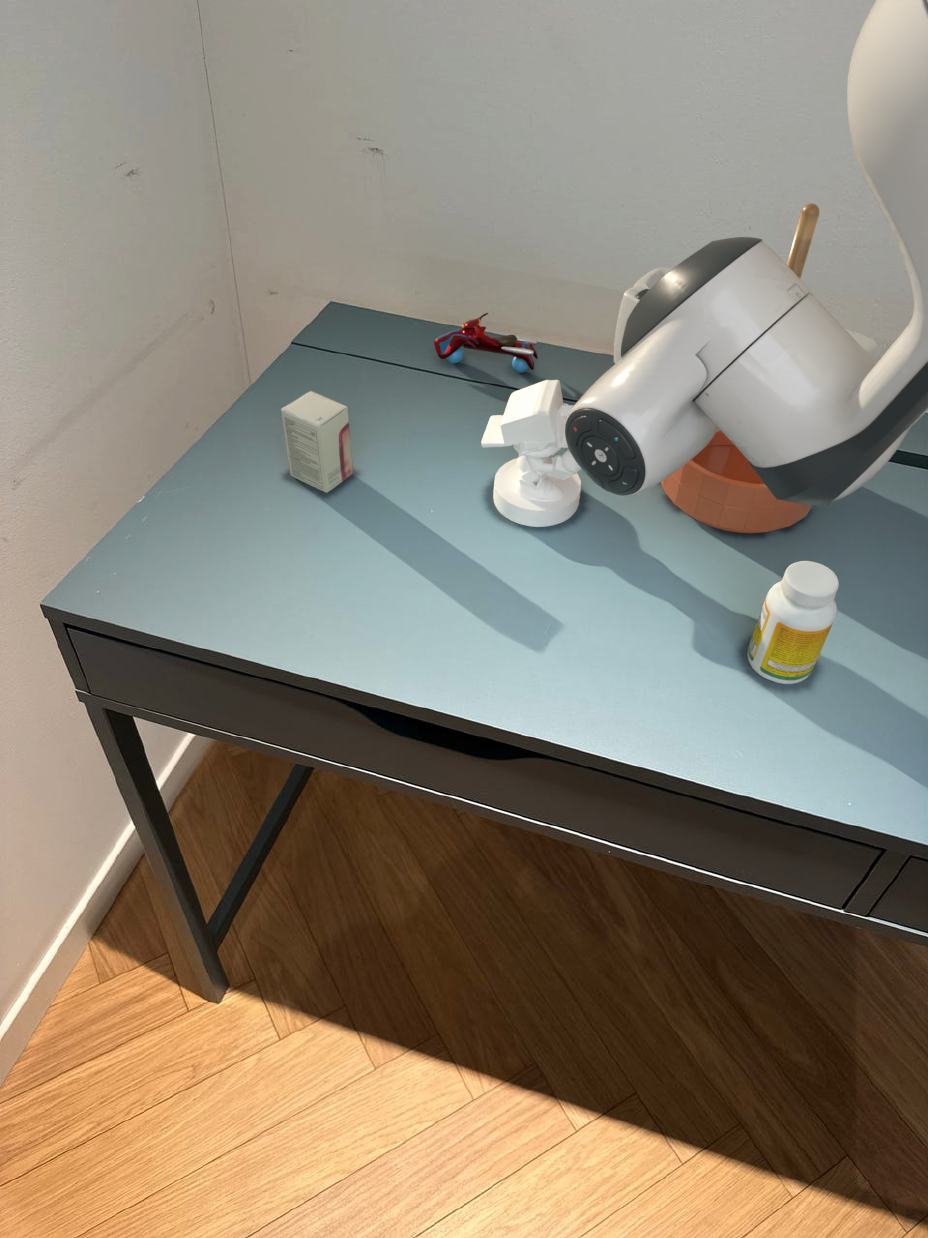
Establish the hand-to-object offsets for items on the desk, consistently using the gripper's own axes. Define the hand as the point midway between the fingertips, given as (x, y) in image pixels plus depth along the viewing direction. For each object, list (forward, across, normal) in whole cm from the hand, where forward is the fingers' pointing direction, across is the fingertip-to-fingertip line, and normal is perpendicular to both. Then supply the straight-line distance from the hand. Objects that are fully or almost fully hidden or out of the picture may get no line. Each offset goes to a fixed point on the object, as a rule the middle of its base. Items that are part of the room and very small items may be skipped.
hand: (788, 300), depth 82 cm
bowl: (0, 0, +20) cm, 20 cm away
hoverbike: (+2, +33, +20) cm, 39 cm away
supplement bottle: (-19, -14, +20) cm, 31 cm away
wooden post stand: (-1, 0, +10) cm, 10 cm away
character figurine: (-14, +15, +20) cm, 29 cm away
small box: (-25, +33, +20) cm, 46 cm away
